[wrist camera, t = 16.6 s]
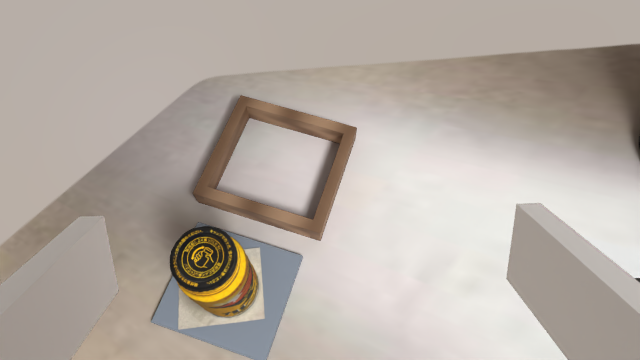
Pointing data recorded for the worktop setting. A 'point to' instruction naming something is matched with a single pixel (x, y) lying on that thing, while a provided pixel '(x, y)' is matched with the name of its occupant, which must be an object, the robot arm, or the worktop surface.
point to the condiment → (216, 279)
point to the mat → (244, 335)
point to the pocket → (290, 120)
